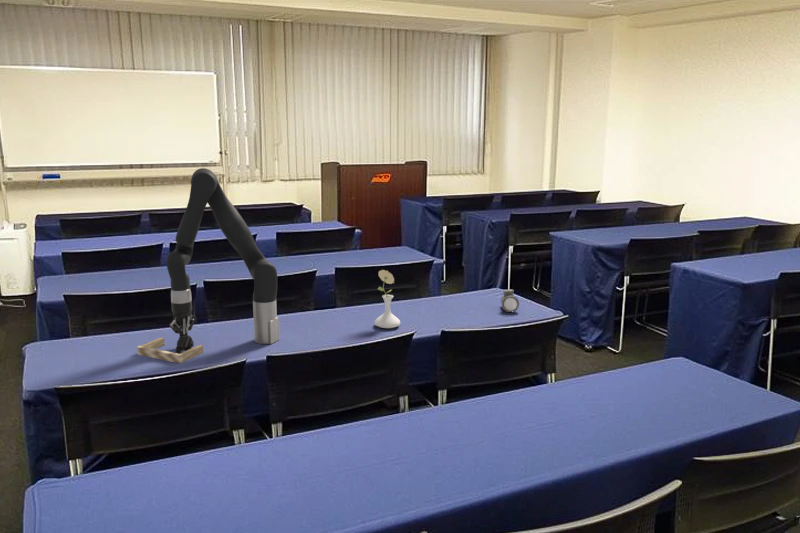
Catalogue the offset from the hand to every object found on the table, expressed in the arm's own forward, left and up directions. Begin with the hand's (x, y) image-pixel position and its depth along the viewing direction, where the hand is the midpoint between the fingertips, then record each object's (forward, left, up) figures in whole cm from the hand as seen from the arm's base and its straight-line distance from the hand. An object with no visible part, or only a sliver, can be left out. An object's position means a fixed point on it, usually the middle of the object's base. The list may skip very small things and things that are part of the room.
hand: (184, 342), depth 253 cm
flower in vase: (-60, -60, -2) cm, 85 cm away
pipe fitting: (-102, -109, -2) cm, 149 cm away
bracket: (0, +7, -2) cm, 7 cm away
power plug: (-5, +6, -2) cm, 8 cm away
